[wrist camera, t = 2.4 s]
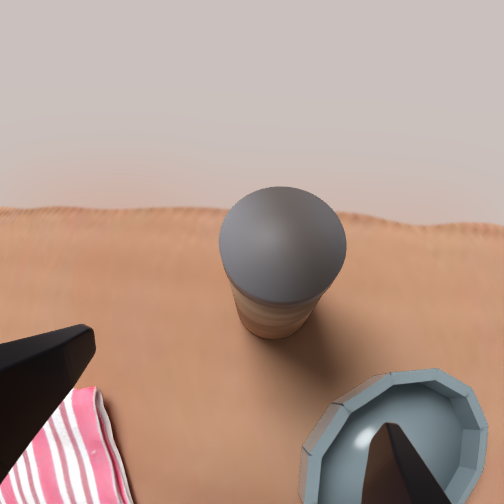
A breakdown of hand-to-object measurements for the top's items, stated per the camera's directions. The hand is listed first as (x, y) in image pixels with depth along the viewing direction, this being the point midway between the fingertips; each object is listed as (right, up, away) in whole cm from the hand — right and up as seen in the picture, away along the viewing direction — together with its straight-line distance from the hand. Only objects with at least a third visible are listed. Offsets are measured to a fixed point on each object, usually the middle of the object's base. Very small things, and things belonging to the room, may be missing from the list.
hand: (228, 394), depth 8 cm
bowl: (+11, -11, +9) cm, 18 cm away
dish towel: (-19, -16, +8) cm, 26 cm away
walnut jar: (+2, 0, +14) cm, 14 cm away
